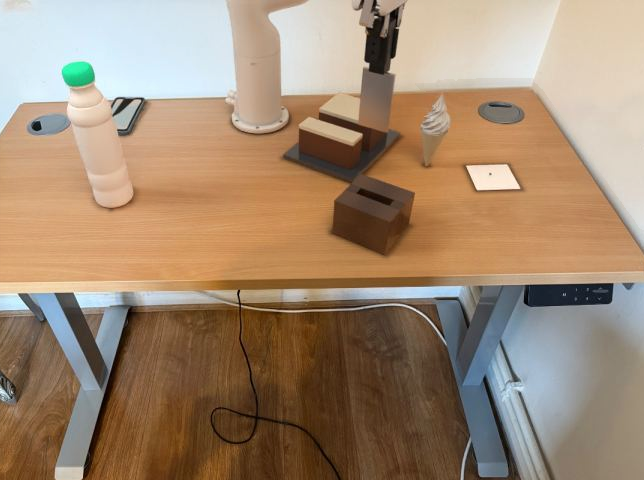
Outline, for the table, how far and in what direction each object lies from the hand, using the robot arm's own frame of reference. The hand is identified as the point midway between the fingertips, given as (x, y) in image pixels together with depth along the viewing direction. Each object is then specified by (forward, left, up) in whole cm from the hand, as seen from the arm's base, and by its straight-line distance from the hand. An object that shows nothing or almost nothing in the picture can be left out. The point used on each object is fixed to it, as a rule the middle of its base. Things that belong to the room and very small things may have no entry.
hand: (379, 59), depth 75 cm
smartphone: (-61, +1, -27) cm, 67 cm away
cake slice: (-13, +11, -26) cm, 31 cm away
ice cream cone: (+4, +20, -27) cm, 34 cm away
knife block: (+4, -3, -27) cm, 28 cm away
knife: (0, 0, -11) cm, 11 cm away
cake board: (-13, +17, -27) cm, 35 cm away
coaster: (+16, +23, -27) cm, 39 cm away
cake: (-13, +21, -26) cm, 36 cm away
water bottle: (-40, -21, -27) cm, 53 cm away
